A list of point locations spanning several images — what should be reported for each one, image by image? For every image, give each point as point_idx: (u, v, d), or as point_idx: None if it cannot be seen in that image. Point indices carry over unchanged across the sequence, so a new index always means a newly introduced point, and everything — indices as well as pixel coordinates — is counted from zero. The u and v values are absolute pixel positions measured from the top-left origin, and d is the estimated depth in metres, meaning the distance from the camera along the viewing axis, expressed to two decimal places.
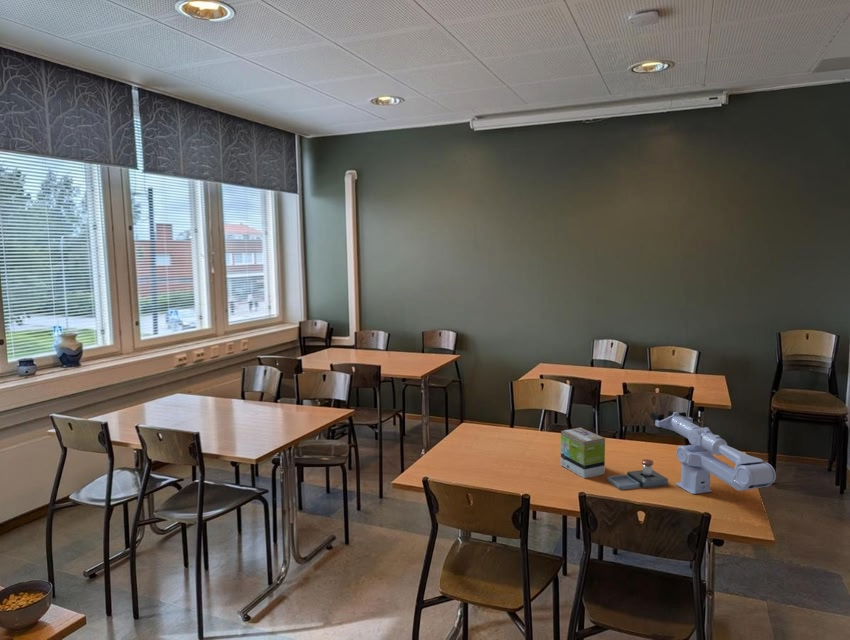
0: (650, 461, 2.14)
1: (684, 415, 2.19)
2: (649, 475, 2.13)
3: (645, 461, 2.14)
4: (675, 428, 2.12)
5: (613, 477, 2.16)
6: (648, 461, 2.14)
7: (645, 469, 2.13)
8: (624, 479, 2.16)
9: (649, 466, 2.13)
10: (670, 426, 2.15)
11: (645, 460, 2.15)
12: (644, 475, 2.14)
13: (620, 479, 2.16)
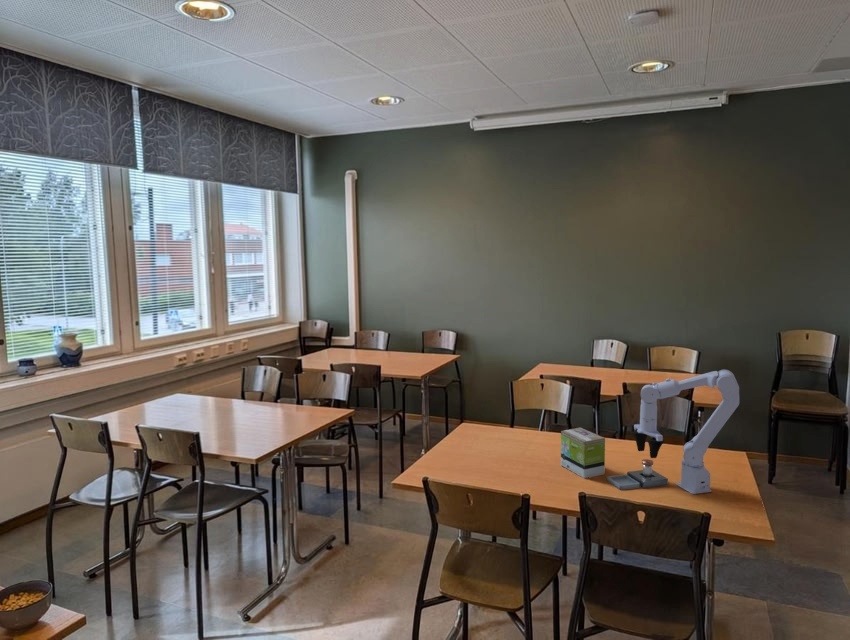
0: (650, 461, 2.14)
1: (635, 432, 2.18)
2: (649, 475, 2.13)
3: (645, 461, 2.14)
4: (654, 421, 2.10)
5: (613, 477, 2.16)
6: (648, 461, 2.14)
7: (645, 469, 2.13)
8: (624, 479, 2.16)
9: (649, 466, 2.13)
10: (655, 430, 2.10)
11: (645, 460, 2.15)
12: (644, 475, 2.14)
13: (620, 479, 2.16)
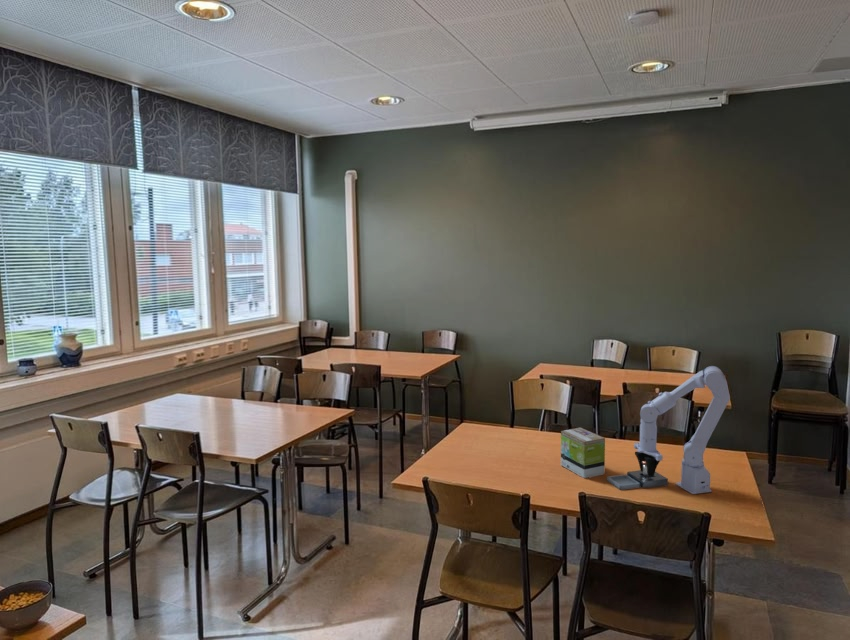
0: None
1: (637, 452, 2.17)
2: None
3: (645, 461, 2.14)
4: (653, 441, 2.10)
5: (613, 477, 2.16)
6: None
7: (645, 469, 2.13)
8: (624, 479, 2.16)
9: None
10: (655, 449, 2.11)
11: None
12: (644, 475, 2.14)
13: (620, 479, 2.16)
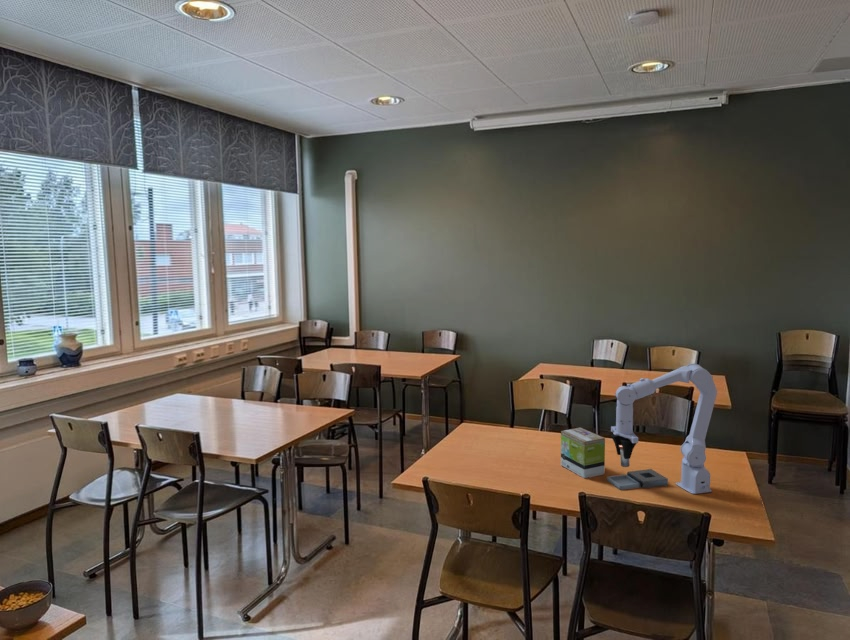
0: None
1: (614, 435, 2.14)
2: (626, 459, 2.11)
3: None
4: (630, 423, 2.08)
5: (613, 477, 2.16)
6: None
7: (622, 453, 2.11)
8: (624, 479, 2.16)
9: None
10: (631, 432, 2.09)
11: None
12: (622, 459, 2.12)
13: (620, 479, 2.16)
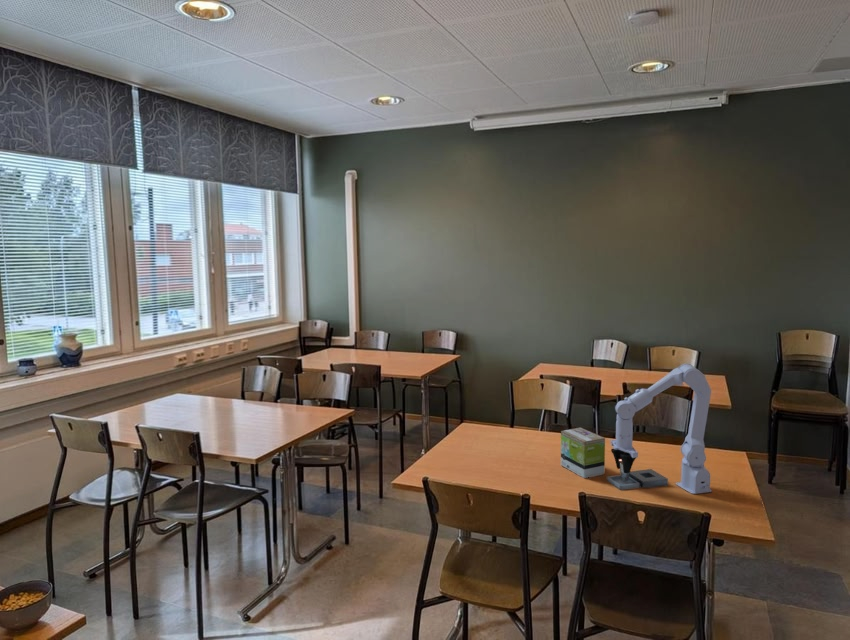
0: None
1: (614, 449, 2.15)
2: (626, 473, 2.11)
3: (621, 459, 2.12)
4: (629, 438, 2.09)
5: (613, 477, 2.16)
6: None
7: (622, 467, 2.12)
8: None
9: None
10: (631, 446, 2.09)
11: (621, 458, 2.13)
12: (621, 473, 2.12)
13: (620, 479, 2.16)
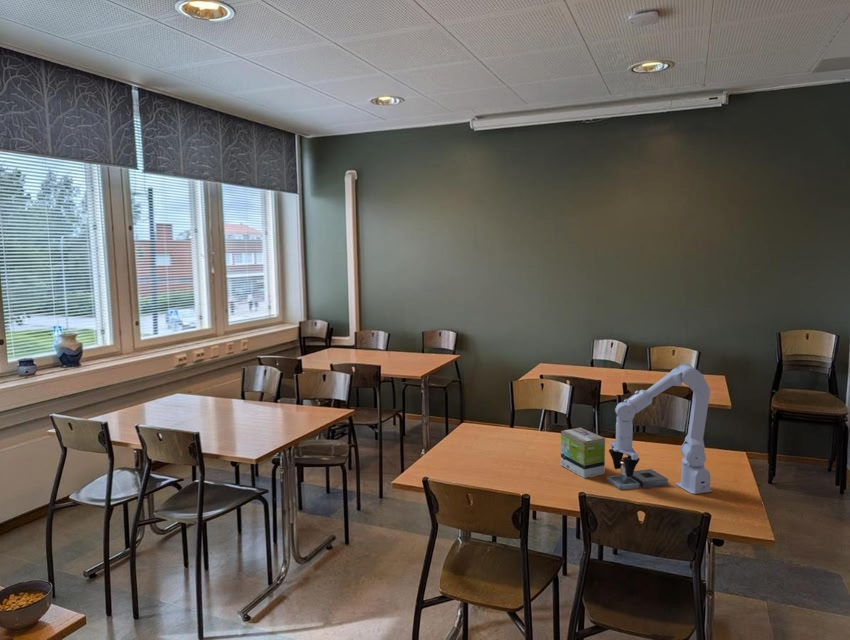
0: None
1: (611, 449, 2.17)
2: None
3: (623, 461, 2.12)
4: (629, 440, 2.09)
5: (613, 477, 2.16)
6: None
7: (623, 469, 2.12)
8: None
9: None
10: (631, 448, 2.09)
11: None
12: (622, 475, 2.12)
13: (620, 479, 2.16)
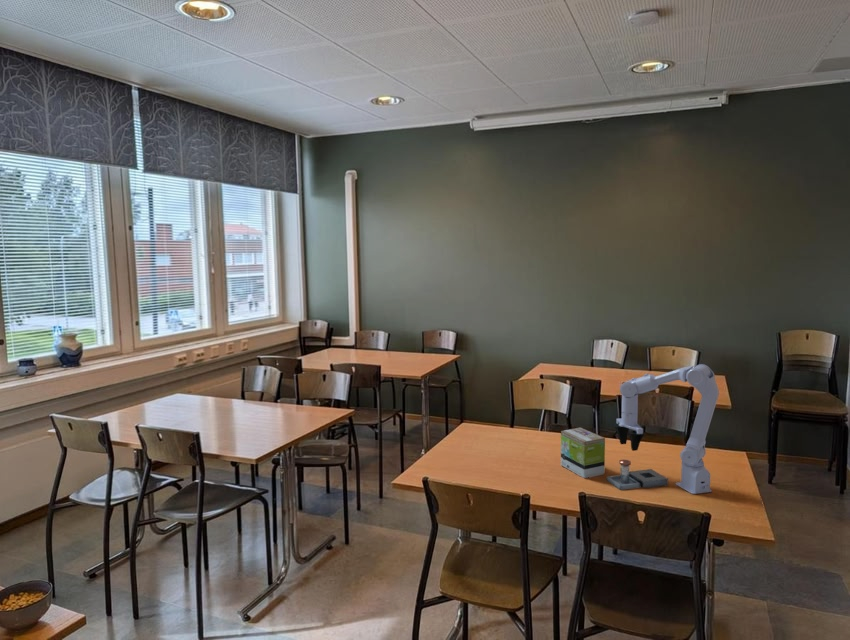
0: (627, 461, 2.12)
1: (617, 425, 2.26)
2: (626, 475, 2.12)
3: (622, 461, 2.13)
4: (634, 415, 2.18)
5: (613, 477, 2.16)
6: (625, 461, 2.12)
7: (622, 469, 2.12)
8: None
9: (626, 466, 2.11)
10: (636, 424, 2.19)
11: (623, 460, 2.14)
12: (621, 475, 2.13)
13: (620, 479, 2.16)
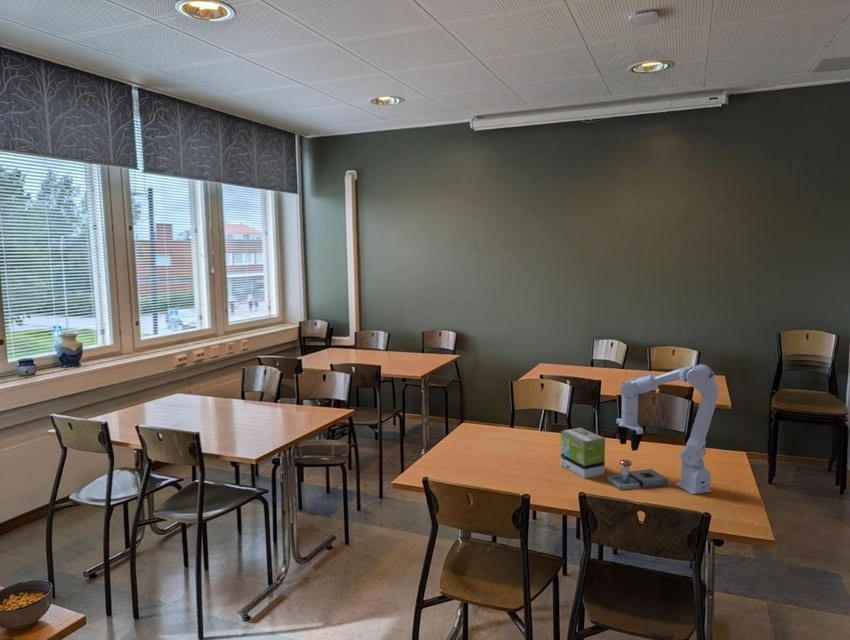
0: (628, 461, 2.12)
1: (617, 425, 2.26)
2: (627, 475, 2.12)
3: (623, 461, 2.12)
4: (635, 415, 2.18)
5: (613, 477, 2.16)
6: (626, 461, 2.12)
7: (623, 469, 2.12)
8: None
9: (627, 466, 2.11)
10: (636, 424, 2.19)
11: (623, 460, 2.13)
12: (622, 475, 2.12)
13: (620, 479, 2.16)
